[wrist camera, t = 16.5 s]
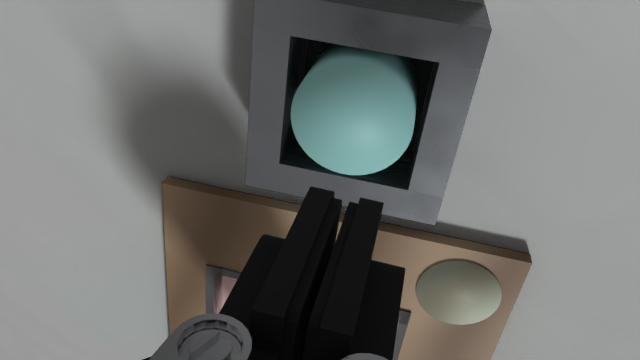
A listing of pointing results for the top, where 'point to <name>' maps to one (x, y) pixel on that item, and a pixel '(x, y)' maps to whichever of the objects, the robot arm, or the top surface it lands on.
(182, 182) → the picture board
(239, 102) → the top surface
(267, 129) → the button housing
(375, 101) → the button
